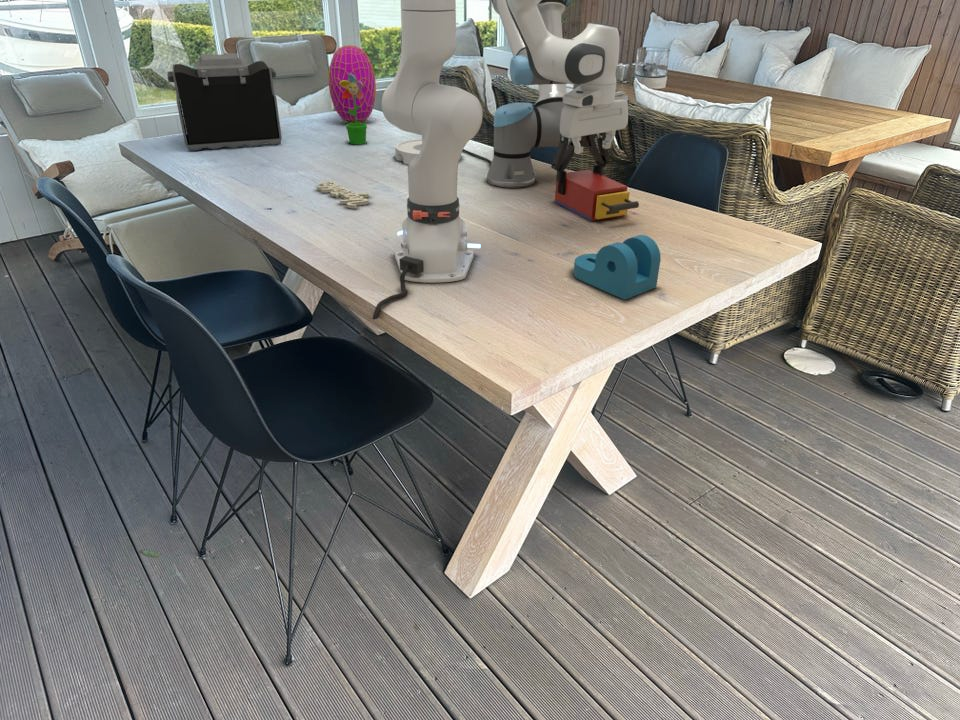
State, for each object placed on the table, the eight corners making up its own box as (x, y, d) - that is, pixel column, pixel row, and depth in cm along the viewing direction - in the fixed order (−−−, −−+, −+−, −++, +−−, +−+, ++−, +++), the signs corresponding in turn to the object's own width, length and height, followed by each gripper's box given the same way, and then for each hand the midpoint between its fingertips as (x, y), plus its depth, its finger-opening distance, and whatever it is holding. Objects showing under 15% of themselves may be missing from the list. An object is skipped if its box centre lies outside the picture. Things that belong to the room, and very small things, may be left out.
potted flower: (342, 144, 260) (336, 73, 247) (351, 139, 266) (346, 70, 254) (365, 146, 257) (360, 74, 245) (374, 141, 264) (369, 71, 251)
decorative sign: (381, 199, 198) (351, 206, 193) (382, 203, 199) (351, 209, 193) (339, 178, 216) (309, 184, 211) (339, 182, 216) (310, 187, 211)
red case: (624, 215, 192) (627, 186, 188) (591, 221, 188) (594, 191, 183) (586, 197, 206) (588, 169, 202) (554, 202, 202) (556, 174, 197)
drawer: (639, 220, 186) (642, 197, 183) (609, 225, 182) (611, 202, 179) (590, 197, 203) (592, 176, 200) (562, 201, 199) (564, 180, 196)
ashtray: (454, 167, 232) (454, 155, 230) (388, 164, 235) (387, 152, 233) (466, 151, 252) (466, 140, 250) (404, 148, 255) (404, 137, 253)
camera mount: (656, 287, 150) (663, 241, 145) (624, 299, 144) (630, 252, 139) (595, 262, 162) (599, 219, 157) (563, 272, 156) (567, 228, 151)
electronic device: (279, 132, 275) (268, 51, 260) (286, 144, 258) (275, 58, 243) (181, 139, 264) (164, 54, 249) (182, 152, 246) (163, 62, 231)
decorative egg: (362, 116, 305) (357, 42, 290) (386, 123, 292) (382, 46, 277) (324, 121, 294) (316, 45, 279) (347, 129, 281) (340, 49, 266)
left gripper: (619, 88, 178) (614, 142, 185) (557, 96, 168) (554, 153, 175) (636, 92, 173) (630, 147, 181) (574, 100, 164) (570, 159, 171)
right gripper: (611, 106, 196) (604, 182, 207) (541, 113, 186) (537, 192, 197) (628, 111, 190) (619, 189, 201) (556, 118, 181) (550, 199, 192)
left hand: (592, 150), depth 178 cm, fingers open, 8 cm apart
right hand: (578, 191), depth 199 cm, fingers closed on red case, 11 cm apart
